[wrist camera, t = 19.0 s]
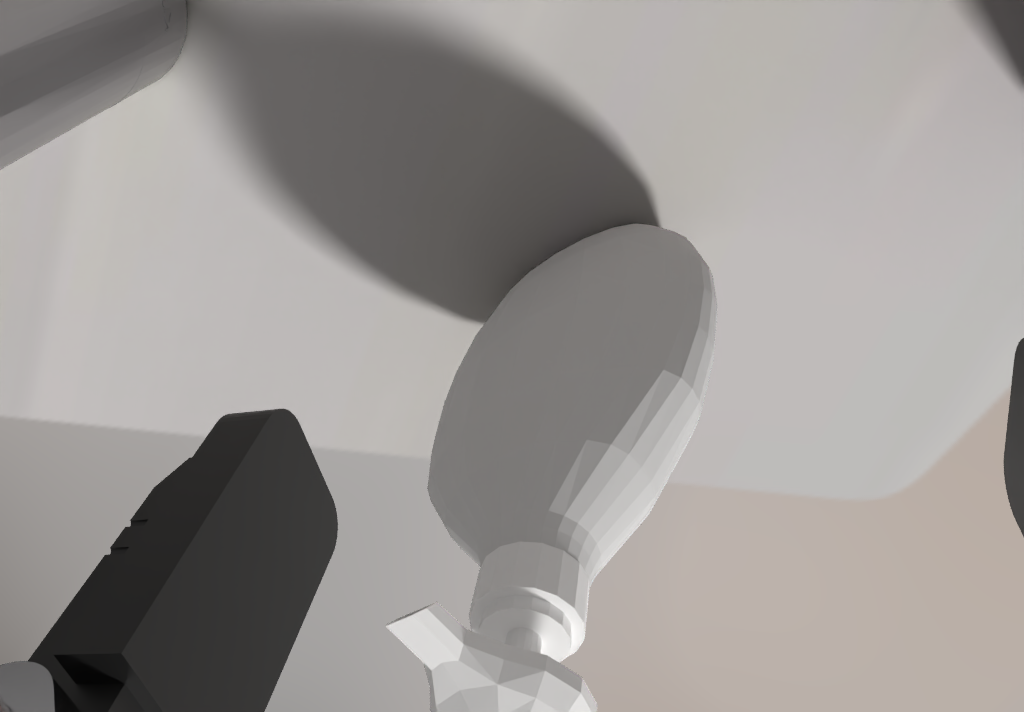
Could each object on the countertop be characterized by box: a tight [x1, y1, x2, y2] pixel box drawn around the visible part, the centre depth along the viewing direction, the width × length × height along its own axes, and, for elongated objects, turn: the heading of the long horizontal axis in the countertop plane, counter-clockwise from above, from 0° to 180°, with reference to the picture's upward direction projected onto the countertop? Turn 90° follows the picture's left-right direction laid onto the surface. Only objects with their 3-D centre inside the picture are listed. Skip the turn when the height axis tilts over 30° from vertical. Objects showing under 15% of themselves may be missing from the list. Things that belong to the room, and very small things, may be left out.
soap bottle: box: [386, 224, 717, 712], centre depth 34 cm, size 14×8×27 cm, turn 128°
